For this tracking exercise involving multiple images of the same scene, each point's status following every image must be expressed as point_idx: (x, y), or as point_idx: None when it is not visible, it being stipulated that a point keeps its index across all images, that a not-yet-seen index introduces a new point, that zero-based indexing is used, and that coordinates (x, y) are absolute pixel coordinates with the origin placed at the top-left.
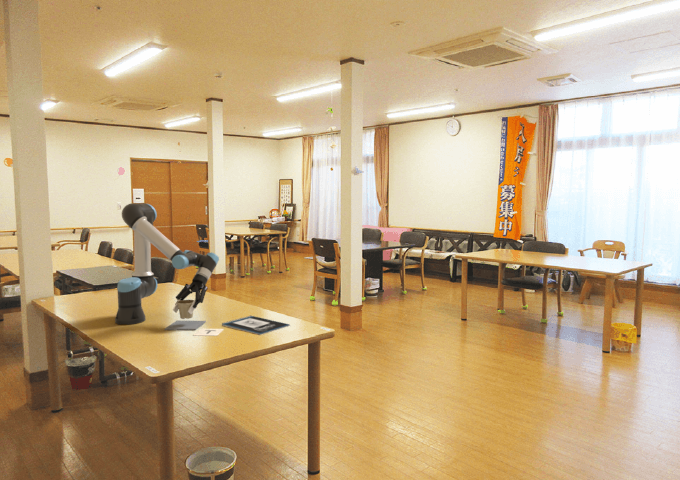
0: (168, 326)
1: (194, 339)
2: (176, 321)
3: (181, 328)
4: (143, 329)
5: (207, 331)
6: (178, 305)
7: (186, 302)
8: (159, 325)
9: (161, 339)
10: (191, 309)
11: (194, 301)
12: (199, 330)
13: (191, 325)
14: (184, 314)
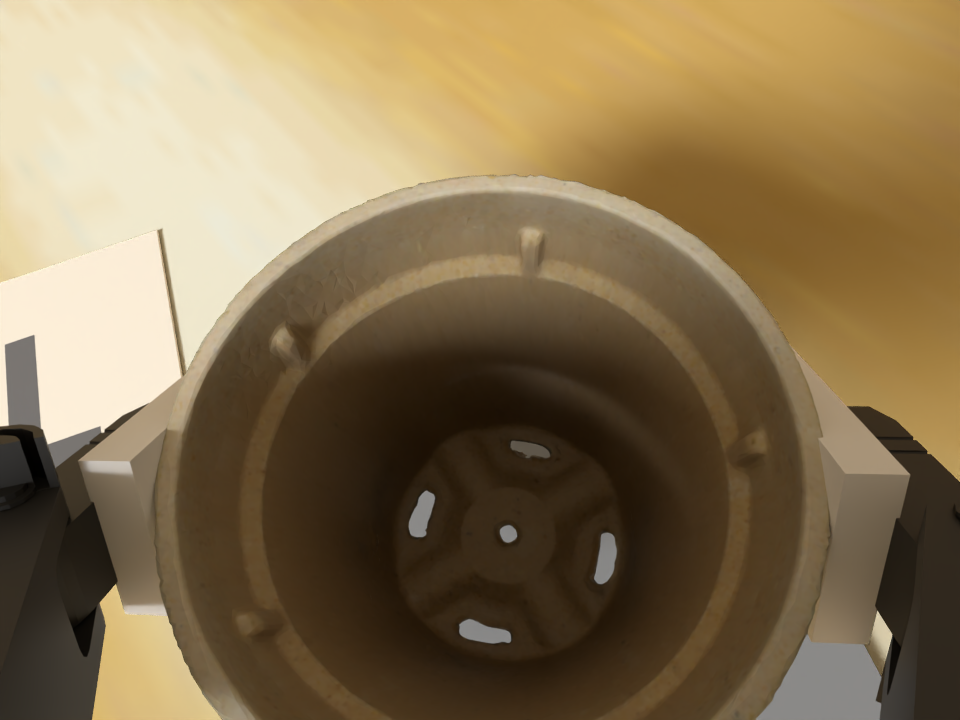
0: None
1: (76, 144)
2: (845, 654)
3: None
4: (938, 178)
5: (51, 417)
6: (569, 247)
7: (668, 707)
8: (945, 409)
9: (401, 24)
10: None
11: (89, 455)
12: None
13: None
14: (447, 393)
